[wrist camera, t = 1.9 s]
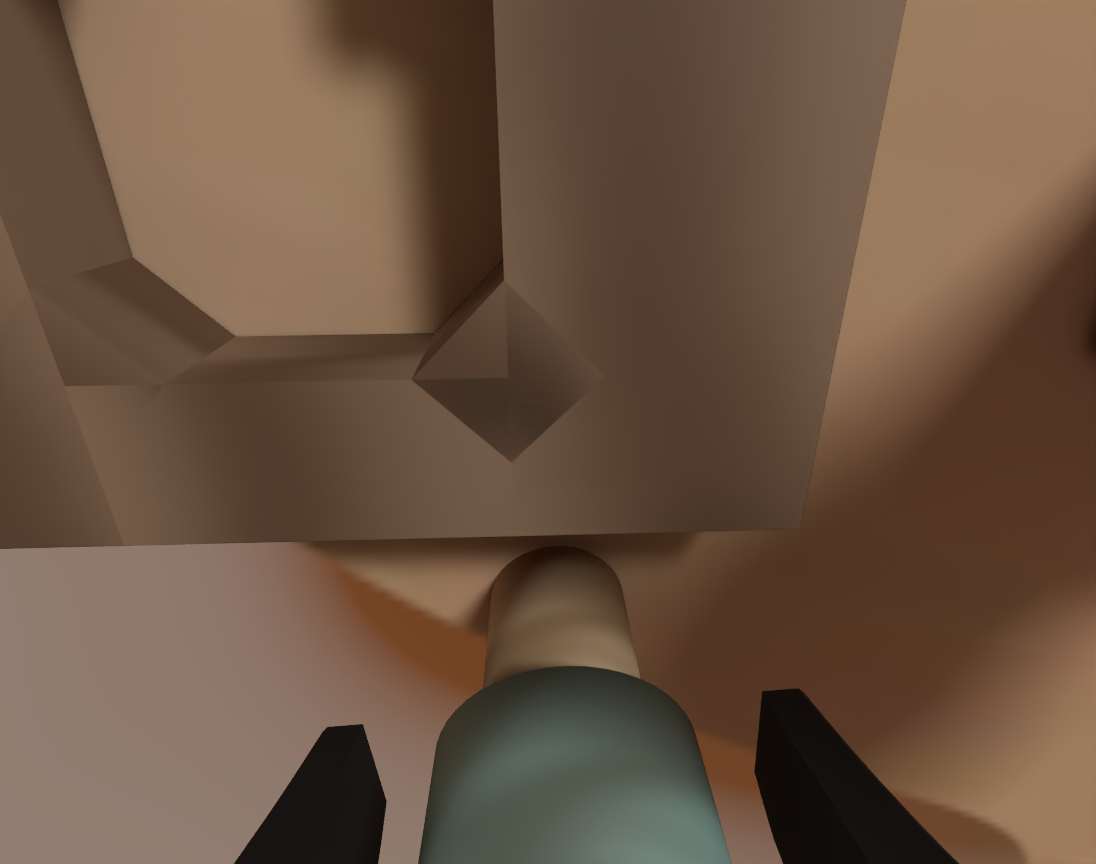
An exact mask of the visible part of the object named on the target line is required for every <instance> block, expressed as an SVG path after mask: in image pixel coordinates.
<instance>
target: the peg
mask: <svg viewBox="0 0 1096 864" xmlns="http://www.w3.org/2000/svg"><path fill="white" fill-rule="evenodd" d="M418 864H732V862H731V859H730V855H729V852H728V848H727V845H726V841H725V838H724V834H723V830H722V827H721V823H720V820H719V816H718V813H717V809H716V806H715V802H714V798H713V795H712V791H711V788H710V784H709V781H708V777H707V774H706V770H705V766H704V763H703V759H702V756H701V752H700V749H699V745H698V741H697V738H696V735H695V732H694V729H693V726H692V724H691V722H690V720H689V718H688V717H687V715H686V713H685V712H684V711H683V710H682V708H681V707H680V706H679V705H678V704H677V703H676V702H675V701H674V700H673V699H672V698H671V697H670V696H668V695H667V694H666V693H665V692H663V691H662V690H660V689H658V688H657V687H655V686H654V685H652V684H650V683H648V682H646V681H644V680H642V679H641V678H640V674H639V669H638V664H637V659H636V654H635V649H634V645H633V640H632V635H631V630H630V625H629V621H628V616H627V611H626V606H625V601H624V597H623V592H622V587H621V584H620V581H619V579H618V577H617V575H616V573H615V572H614V571H613V570H612V568H611V567H610V566H609V565H608V564H607V563H606V562H604V561H603V560H602V559H600V558H599V557H597V556H595V555H593V554H591V553H589V552H586V551H584V550H580V549H576V548H570V547H547V548H541V549H537V550H534V551H531V552H528V553H526V554H524V555H522V556H520V557H518V558H516V559H515V560H513V561H512V562H511V563H510V564H508V565H507V566H506V567H505V568H504V569H503V570H502V572H501V573H500V574H499V576H498V577H497V579H496V581H495V583H494V586H493V589H492V593H491V602H490V614H489V626H488V638H487V650H486V662H485V673H484V685H483V689H482V690H480V691H479V692H477V693H476V694H474V695H473V696H472V697H470V698H469V699H467V700H466V701H465V702H464V703H463V704H462V705H461V706H460V707H459V708H458V709H457V710H456V711H455V712H454V713H453V714H452V716H451V717H450V718H449V719H448V721H447V722H446V724H445V726H444V728H443V729H442V731H441V734H440V736H439V739H438V742H437V746H436V752H435V759H434V765H433V772H432V778H431V785H430V791H429V797H428V804H427V810H426V817H425V823H424V830H423V837H422V843H421V849H420V856H419V862H418Z"/></svg>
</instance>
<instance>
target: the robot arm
mask: <svg viewBox="0 0 1096 864" xmlns="http://www.w3.org/2000/svg"><path fill="white" fill-rule="evenodd" d="M755 775H756V779H757V782H758V786H759V789H760V793H761V797H762V800H763V804H764V807H765V811H766V814H767V818H768V821H769V824H770V828H771V831H772V834H773V838H774V841H775V843H776V846H777V849H778V851H779V853H780V856H781V858H782V862H783V864H959V863H958V862H957V861H956V860H955V859H954V858H953V857H952V856H951V855H950V854H949V853H948V852H947V851H946V850H945V849H944V848H943V847H942V846H941V845H940V844H939V843H938V842H937V841H936V840H935V839H934V838H933V837H932V836H931V835H930V834H929V833H928V832H927V831H926V830H925V829H924V828H923V827H922V826H921V825H920V824H919V823H918V821H917V820H916V819H914V817H913V816H912V815H911V814H910V813H909V812H908V811H907V810H906V809H905V808H904V806H903V805H902V804H901V803H900V802H899V801H898V800H897V799H896V798H895V797H894V796H893V795H892V794H891V793H890V791H889V790H888V789H887V788H886V787H885V786H884V785H883V784H882V783H881V782H880V781H879V780H878V778H877V777H876V776H875V775H874V774H873V773H872V772H871V771H870V770H869V768H868V767H867V766H866V765H865V764H864V763H863V762H862V761H861V759H860V758H859V757H858V756H857V755H856V754H855V753H854V751H853V750H852V749H851V748H850V747H849V746H848V745H847V743H846V742H845V741H844V740H843V739H842V738H841V736H840V735H839V734H838V733H837V732H836V731H835V729H834V728H833V727H832V726H831V725H830V723H829V722H828V721H827V720H826V719H825V718H824V716H823V715H822V714H821V713H820V712H819V710H818V709H817V708H816V707H815V706H814V704H813V703H812V702H811V701H810V699H809V698H808V697H807V696H806V695H805V693H804V692H802V691H801V690H800V689H799V688H797V689H785V690H773V691H762V700H761V711H760V721H759V731H758V741H757V752H756V763H755ZM385 809H386V798H385V795H384V792H383V788H382V785H381V782H380V779H379V776H378V772H377V769H376V766H375V762H374V759H373V756H372V753H371V750H370V746H369V743H368V740H367V737H366V733H365V730H364V727H363V724H359V725H348V726H335V727H327V728H326V729H325V730H324V731H323V732H322V734H321V735H320V737H319V739H318V740H317V742H316V743H315V745H314V746H313V748H312V749H311V751H310V752H309V754H308V755H307V757H306V759H305V760H304V762H303V763H302V765H301V766H300V768H299V769H298V771H297V772H296V774H295V775H294V778H292V780H291V782H290V783H289V785H288V786H287V788H286V789H285V791H284V792H283V794H282V795H281V797H280V798H279V800H278V801H277V803H276V804H275V806H274V807H273V808H272V810H271V811H270V813H269V814H268V816H267V818H266V819H265V820H264V822H263V823H262V824H261V826H260V827H259V829H258V830H257V832H256V833H255V834H254V836H253V837H252V839H251V840H250V842H249V843H248V844H247V846H246V847H245V849H244V850H243V852H242V853H241V855H240V856H239V857H238V859H237V860H236V862H235V863H234V864H378V860H379V854H380V847H381V840H382V832H383V825H384V817H385Z"/></svg>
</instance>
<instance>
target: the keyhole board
mask: <svg viewBox="0 0 1096 864" xmlns="http://www.w3.org/2000/svg"><path fill="white" fill-rule="evenodd" d="M906 1H907V0H493V15H494V40H495V65H496V90H497V115H498V140H499V165H500V190H501V215H502V240H503V259H502V260H501V262H500V263H499V264H498V265H497V266H496V267H495V268H494V269H493V270H492V271H491V272H490V273H489V275H488V276H487V277H486V278H485V279H484V280H483V281H482V282H481V283H480V284H479V285H478V286H477V288H476V289H475V290H474V291H473V292H472V293H471V294H470V295H469V296H468V297H467V298H466V299H465V301H464V302H463V303H462V304H461V305H460V306H459V307H458V308H457V309H456V310H455V311H454V312H453V314H452V315H451V316H450V317H449V318H448V319H447V320H446V321H445V322H444V323H443V324H442V325H441V327H440V328H439V329H438V330H437V331H436V332H435V333H424V334H366V335H308V336H250V337H235V336H234V335H233V334H232V333H230V332H229V331H228V330H226V329H225V328H224V327H222V326H221V325H220V324H219V323H217V322H216V321H215V320H213V319H212V318H211V317H209V316H208V315H207V314H205V313H204V312H203V311H202V310H200V309H199V308H198V307H196V306H195V305H194V304H192V303H191V302H190V301H189V300H187V299H186V298H185V297H183V296H182V295H181V294H179V293H178V292H177V291H176V290H174V289H173V288H172V287H170V286H169V285H168V284H166V283H165V282H164V281H163V280H161V279H160V278H159V277H157V276H156V275H155V274H153V273H152V272H151V271H150V270H148V269H147V268H146V267H144V266H143V265H142V264H140V263H139V262H138V261H136V260H135V259H134V258H133V257H132V254H131V250H130V247H129V244H128V240H127V237H126V233H125V230H124V227H123V223H122V220H121V216H120V213H119V210H118V206H117V203H116V199H115V196H114V193H113V189H112V186H111V183H110V179H109V176H108V172H107V169H106V166H105V162H104V159H103V155H102V152H101V149H100V145H99V142H98V138H97V135H96V132H95V128H94V125H93V121H92V118H91V115H90V111H89V108H88V105H87V101H86V98H85V94H84V91H83V88H82V84H81V81H80V77H79V74H78V71H77V67H76V64H75V60H74V57H73V54H72V50H71V47H70V43H69V40H68V37H67V33H66V30H65V27H64V23H63V20H62V16H61V13H60V10H59V6H58V3H57V0H0V549H11V548H50V547H88V546H89V547H92V546H131V545H169V544H170V545H174V544H212V543H213V544H214V543H252V542H253V543H254V542H255V543H256V542H296V541H337V540H378V539H419V538H460V537H500V536H541V535H582V534H623V533H664V532H704V531H745V530H786V529H800V526H801V521H802V516H803V512H804V507H805V502H806V497H807V492H808V487H809V482H810V477H811V472H812V467H813V462H814V457H815V452H816V447H817V442H818V437H819V432H820V427H821V422H822V417H823V412H824V407H825V402H826V397H827V392H828V388H829V383H830V378H831V373H832V368H833V363H834V358H835V353H836V348H837V343H838V338H839V333H840V328H841V323H842V318H843V313H844V308H845V303H846V298H847V293H848V288H849V283H850V278H851V273H852V268H853V264H854V259H855V254H856V249H857V244H858V239H859V234H860V229H861V224H862V219H863V214H864V209H865V204H866V199H867V194H868V189H869V184H870V179H871V174H872V169H873V164H874V159H875V154H876V149H877V144H878V140H879V135H880V130H881V125H882V120H883V115H884V110H885V105H886V100H887V95H888V90H889V85H890V80H891V75H892V70H893V65H894V60H895V55H896V50H897V45H898V40H899V35H900V30H901V25H902V20H903V16H904V11H905V6H906Z"/></svg>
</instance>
